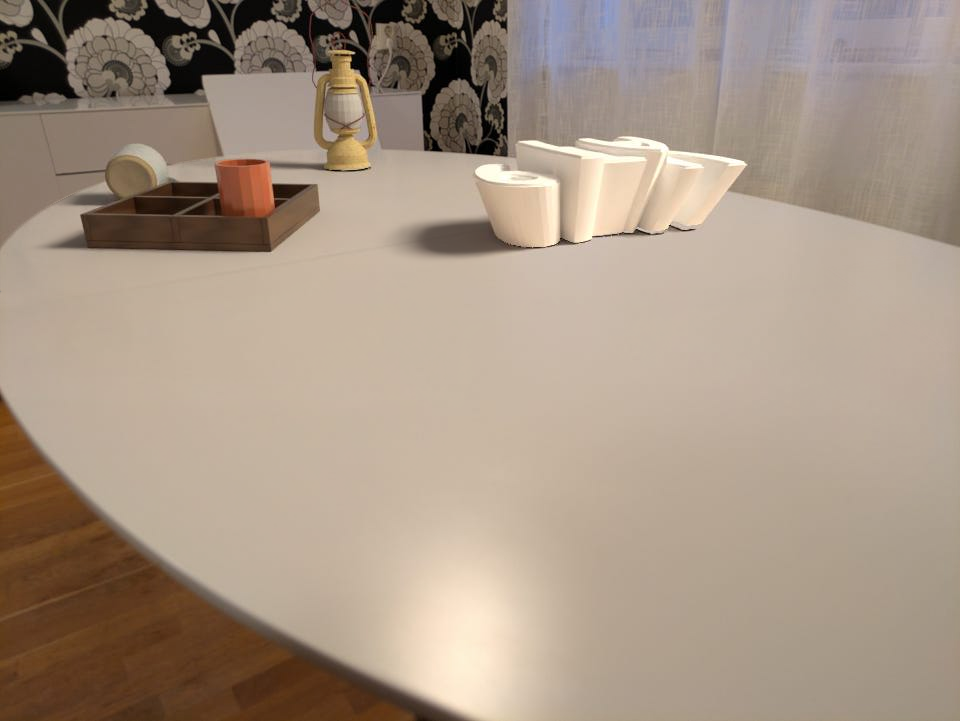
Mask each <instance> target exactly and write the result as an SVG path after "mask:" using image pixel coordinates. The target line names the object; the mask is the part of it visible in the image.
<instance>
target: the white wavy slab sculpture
mask: <svg viewBox="0 0 960 721" xmlns="http://www.w3.org/2000/svg"><path fill="white" fill-rule="evenodd" d="M514 145H515V146H514V148H515V157H516V167H517V170H511V168H510V165H508V164H507V165H506V163H488V164H483V165H480V166H478V167H477V168H476V169H475V170H474V171H473V172H472V177H473V180H474V183H475V186H476V188H477V190H478V192H479V196H480V199H481V200H482V203H483V206H484V209H485V212H486V214H487V217H488V219H489V222H490V225H491V227H492V230H493V233H494V235H495V237H496V238H497V239H499V240H500V239H501V240H502V241H501V240H500V241H501V242H503V241H504V242H503V243H505V242H506V243H505V244H507V243H508V244H507V245H510V244H511V245H510V246H513V245H516V246H515V247H518V246H521V247H520V248H526V247H532V248H531V249H534V248H533V247H546V246H550V245H554V244H556V243H558V242H559V241H560V242H561V239H560V238H563V239H566V240H569V241H572V242H583V241H587V240H590V239H592V240H593V237H592V236H596V235H603V234H610V233H617V232H622V231H623V230H624V231H634V230H636V228H637V227H639V228H642V229H644V230H648V231H651V232H653V231H661V230H665V229H667V230H668V229H669V227H670V226H669V225H670V223H671V222H672V221H675V222H679V223H681V224H683V225H685V226H691V225H698V224H701V225H702V223H703V222H704V221H705V219H706V218H708V216H709V214H711V212H712V210H713V209H714V208H715V207H716V205H717V204H718V203H719V202H720V201H721V199H722V198H723V197H724V195H725V194H726V193H727V191H728V190H729V189H730V187H731V186H732V185H733V183H735V181H736V180H737V179H738V177H739V176H740V175H741V174H742V172H743V170H745V169H746V167H747V166H748V163H746V161H743V160H740V159H735V158H731V157H730V158H729V157H725V156H720V155H719V156H718V155H712V154H706V153H698V152H691V151H690V152H688V151H680V150H679V151H678V150H669V147H668V146H667V145H666V144H665V143H663V142H660V141H657V140H652V139H649V138H642V137H639V136H638V137H637V136H617V137H616V138H614V139H613V141H606V140H600V139H595V138H591V137H589V138H586V137H585V138H578V139H577V140H575V143H574V146H557V145H554V144H549V143H546V142H543V141H540V140H536V139H535V140H518V141H517V143H514ZM636 231H637V230H636ZM563 239H562V240H563ZM546 248H547V247H546Z"/></svg>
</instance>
